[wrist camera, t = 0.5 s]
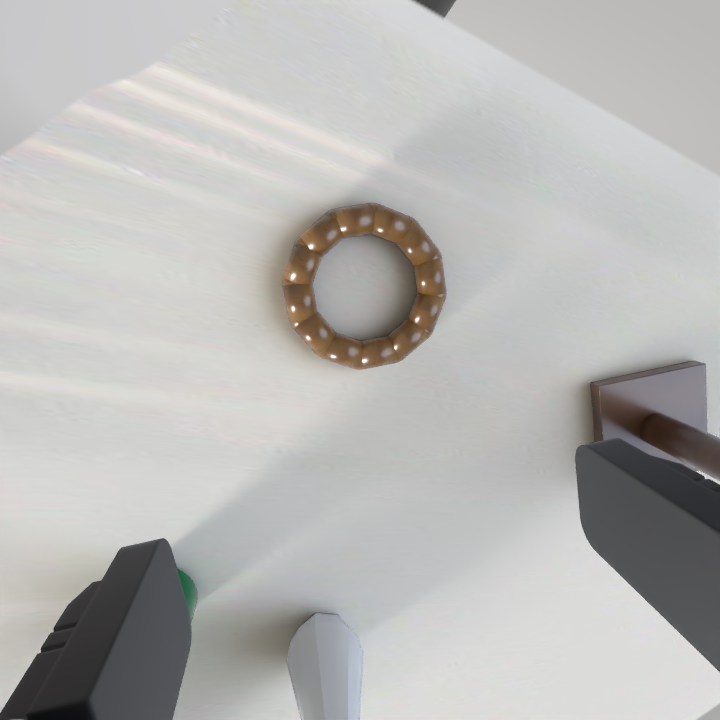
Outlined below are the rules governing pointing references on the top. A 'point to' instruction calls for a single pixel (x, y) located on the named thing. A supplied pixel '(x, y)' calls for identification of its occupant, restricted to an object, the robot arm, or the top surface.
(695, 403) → the peg on square base
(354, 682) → the salt shaker
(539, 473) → the top surface
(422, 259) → the ring
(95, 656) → the robot arm
